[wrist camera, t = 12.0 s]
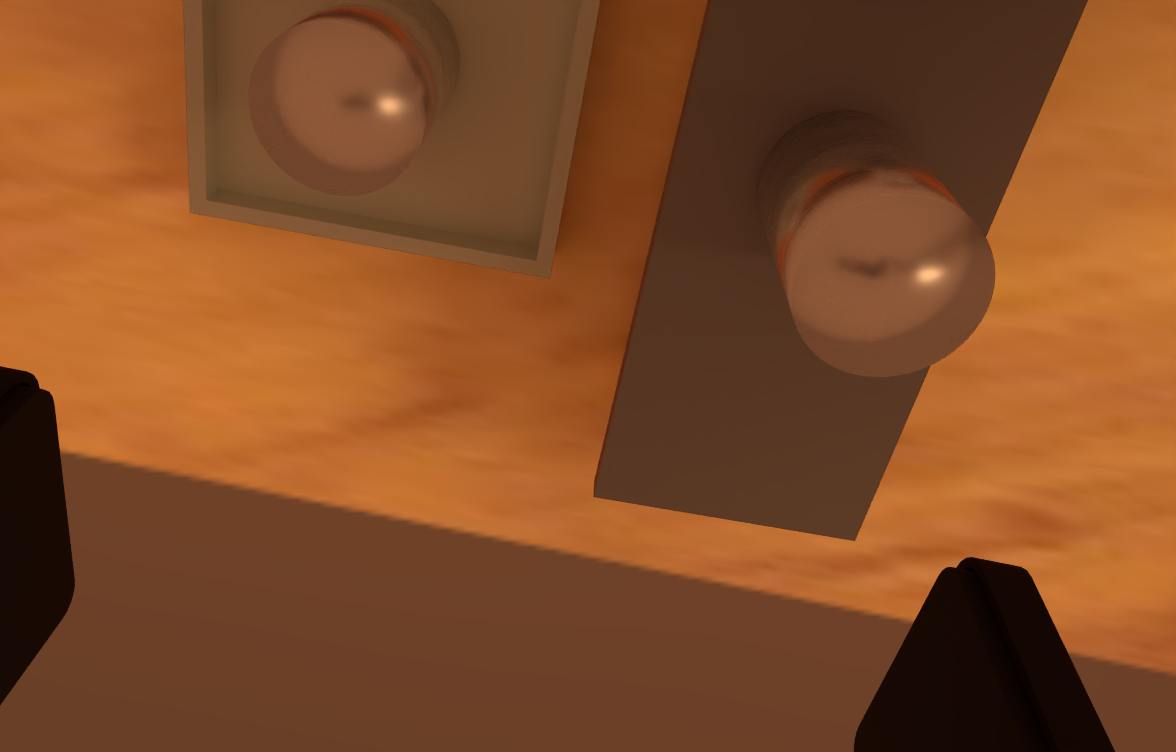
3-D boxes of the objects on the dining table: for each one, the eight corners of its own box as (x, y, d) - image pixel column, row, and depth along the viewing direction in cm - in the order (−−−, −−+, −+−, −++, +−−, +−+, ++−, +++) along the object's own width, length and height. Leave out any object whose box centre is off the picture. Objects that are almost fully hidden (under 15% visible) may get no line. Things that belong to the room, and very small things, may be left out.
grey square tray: (207, -208, 25) (176, -209, 23) (621, -120, 26) (621, -115, 24) (214, 190, 31) (189, 212, 29) (553, 252, 31) (550, 278, 30)
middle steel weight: (842, 75, 23) (904, 153, 18) (949, 181, 24) (1037, 283, 19) (724, 195, 25) (749, 299, 19) (830, 288, 26) (881, 409, 21)
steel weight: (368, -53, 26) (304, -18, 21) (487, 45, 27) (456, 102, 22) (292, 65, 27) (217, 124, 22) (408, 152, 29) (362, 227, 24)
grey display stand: (769, -351, 23) (804, -389, 18) (1100, -275, 24) (1214, -293, 19) (597, 404, 34) (593, 496, 30) (825, 444, 35) (854, 540, 30)
